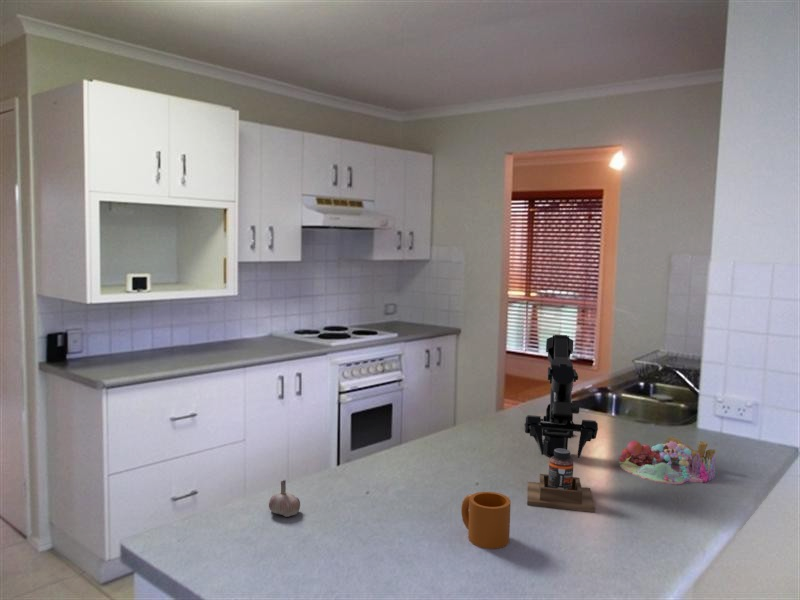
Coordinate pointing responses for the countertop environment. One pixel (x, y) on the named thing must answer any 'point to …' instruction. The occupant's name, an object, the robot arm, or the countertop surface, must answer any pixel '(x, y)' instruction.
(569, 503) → the bottle stand
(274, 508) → the garlic bulb
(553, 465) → the supplement bottle
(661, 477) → the coral reef model
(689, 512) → the countertop surface
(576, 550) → the countertop surface
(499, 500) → the mug
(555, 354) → the robot arm
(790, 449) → the countertop surface
